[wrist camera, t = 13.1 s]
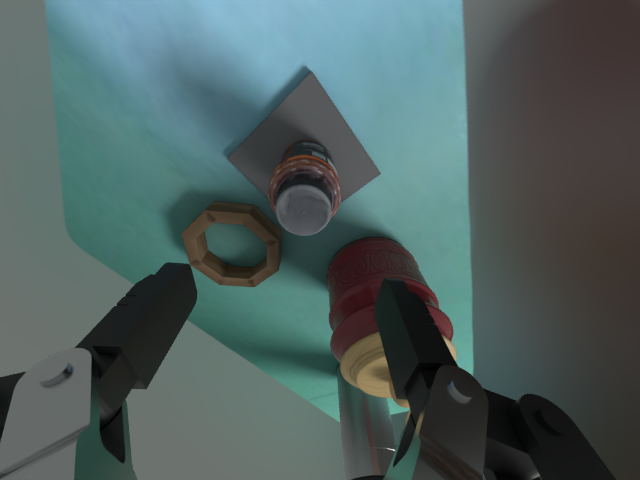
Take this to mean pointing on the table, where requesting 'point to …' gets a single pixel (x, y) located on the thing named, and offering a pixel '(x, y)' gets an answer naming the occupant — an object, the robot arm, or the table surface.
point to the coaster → (305, 124)
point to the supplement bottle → (304, 188)
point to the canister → (372, 310)
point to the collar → (215, 266)
